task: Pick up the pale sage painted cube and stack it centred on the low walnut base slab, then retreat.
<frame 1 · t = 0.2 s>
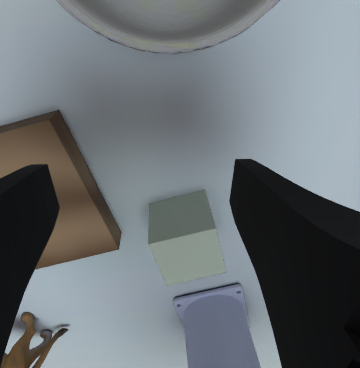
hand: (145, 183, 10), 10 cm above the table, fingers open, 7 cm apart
base: (25, 198, 22), on the table
block: (183, 217, 24), on the table
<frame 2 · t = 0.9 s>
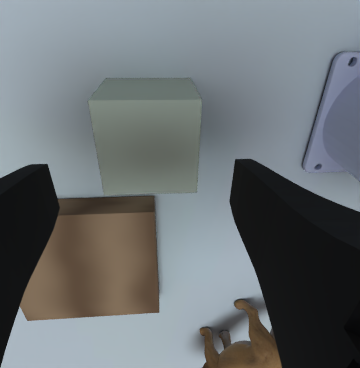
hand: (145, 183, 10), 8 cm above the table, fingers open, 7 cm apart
base: (87, 254, 23), on the table
block: (150, 118, 17), on the table
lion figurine: (233, 319, 31), on the table
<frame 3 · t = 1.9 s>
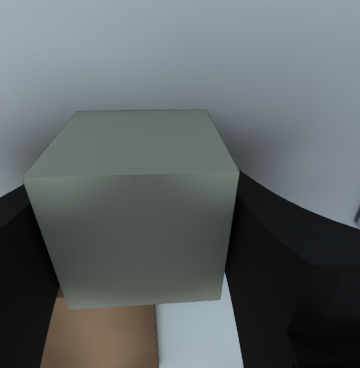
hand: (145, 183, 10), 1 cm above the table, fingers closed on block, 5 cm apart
base: (65, 328, 18), on the table
block: (146, 166, 12), on the table, touching gripper
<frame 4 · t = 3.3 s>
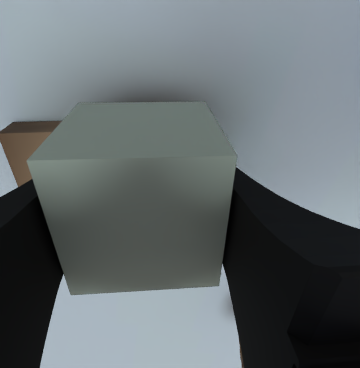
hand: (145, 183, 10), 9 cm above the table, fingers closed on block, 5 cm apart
base: (117, 194, 21), on the table
block: (146, 158, 12), point 7 cm above the table, touching gripper
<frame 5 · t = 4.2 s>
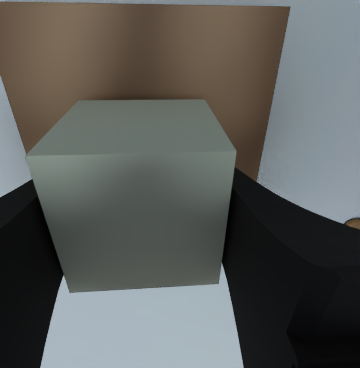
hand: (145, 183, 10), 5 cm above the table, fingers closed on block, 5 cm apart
base: (148, 132, 15), on the table
block: (146, 156, 12), point 4 cm above the table, touching gripper
when the fingers open (5 cm above the table, at t = 4.8 s): block stays where it is, resting on base.
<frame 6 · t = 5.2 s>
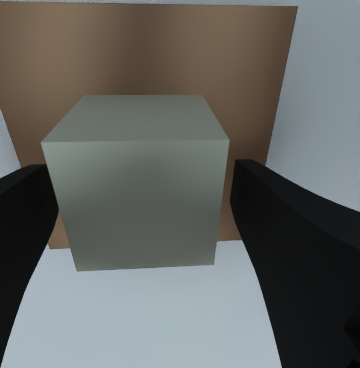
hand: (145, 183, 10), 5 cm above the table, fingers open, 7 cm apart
base: (148, 138, 14), on the table
block: (147, 148, 13), point 2 cm above the table, touching base
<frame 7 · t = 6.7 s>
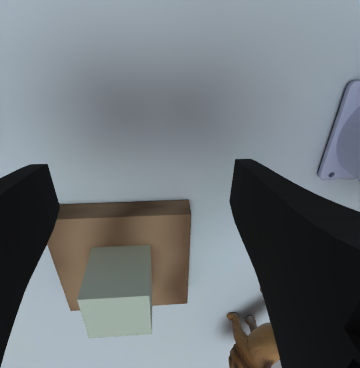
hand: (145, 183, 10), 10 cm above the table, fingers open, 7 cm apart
base: (126, 251, 26), on the table
block: (123, 265, 24), point 2 cm above the table, touching base
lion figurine: (258, 304, 33), on the table
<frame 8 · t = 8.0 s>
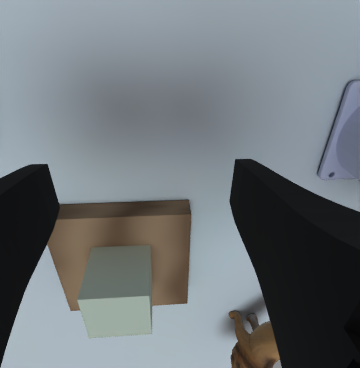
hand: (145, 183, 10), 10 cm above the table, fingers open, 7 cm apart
base: (126, 251, 26), on the table
block: (123, 265, 24), point 2 cm above the table, touching base
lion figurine: (260, 302, 33), on the table
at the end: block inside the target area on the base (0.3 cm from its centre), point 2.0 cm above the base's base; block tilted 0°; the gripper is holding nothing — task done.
